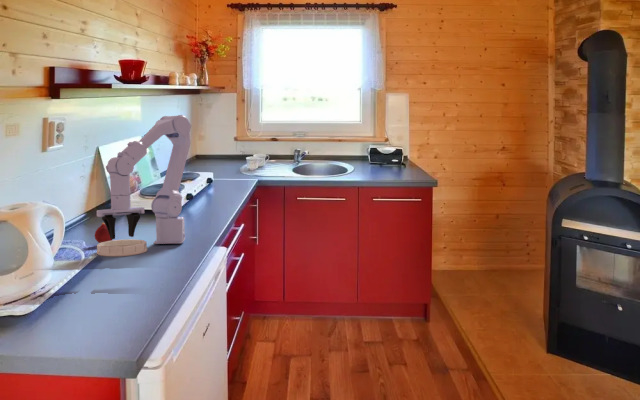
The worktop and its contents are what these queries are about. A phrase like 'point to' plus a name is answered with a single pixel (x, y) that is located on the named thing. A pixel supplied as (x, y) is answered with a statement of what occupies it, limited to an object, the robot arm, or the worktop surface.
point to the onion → (102, 234)
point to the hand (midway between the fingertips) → (122, 237)
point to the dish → (121, 247)
